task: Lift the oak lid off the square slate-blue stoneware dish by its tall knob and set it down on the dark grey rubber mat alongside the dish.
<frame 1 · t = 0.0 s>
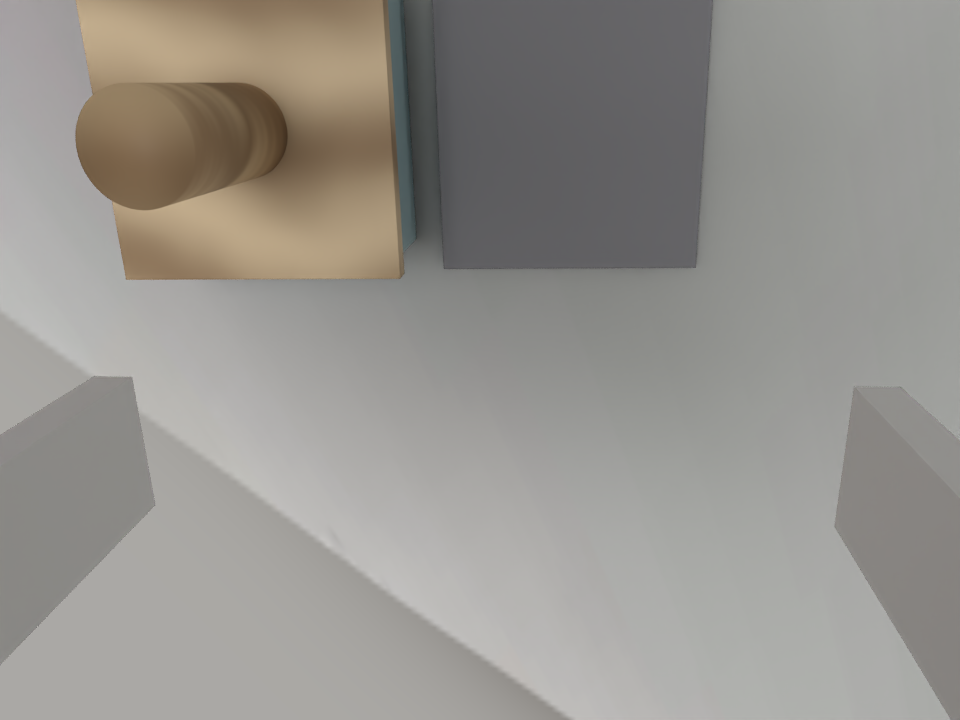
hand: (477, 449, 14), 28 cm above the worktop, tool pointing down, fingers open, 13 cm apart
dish: (294, 123, 40), on the worktop
mat: (569, 116, 39), on the worktop
lid: (251, 130, 35), point 6 cm above the worktop, touching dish
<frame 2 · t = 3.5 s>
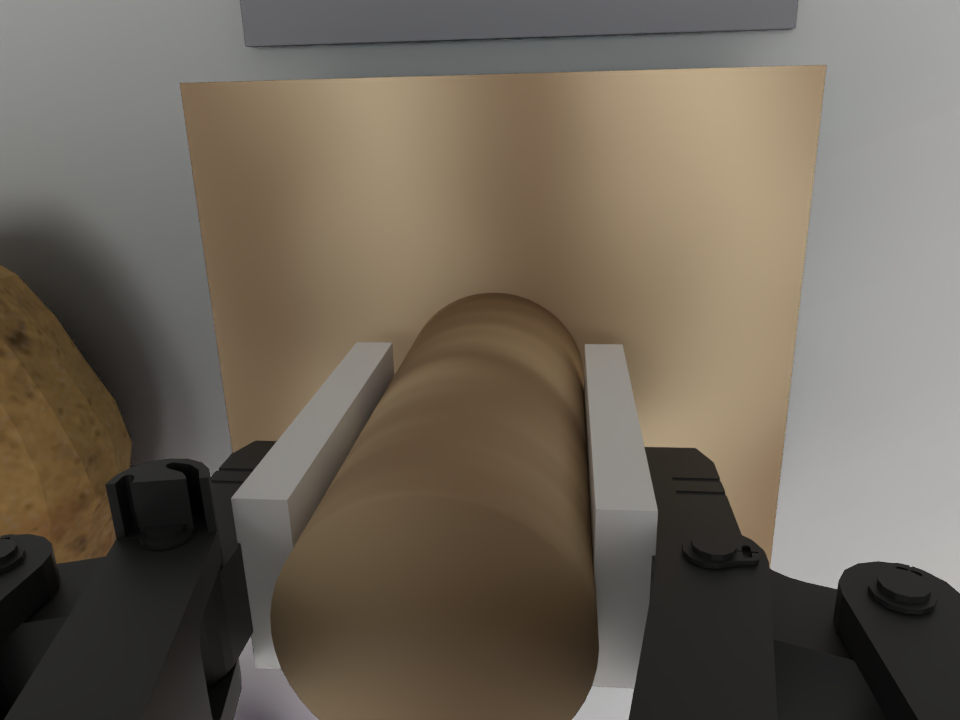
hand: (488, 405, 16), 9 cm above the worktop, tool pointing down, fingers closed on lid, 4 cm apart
potato: (49, 405, 28), on the worktop
lid: (498, 363, 19), point 6 cm above the worktop, touching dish, gripper
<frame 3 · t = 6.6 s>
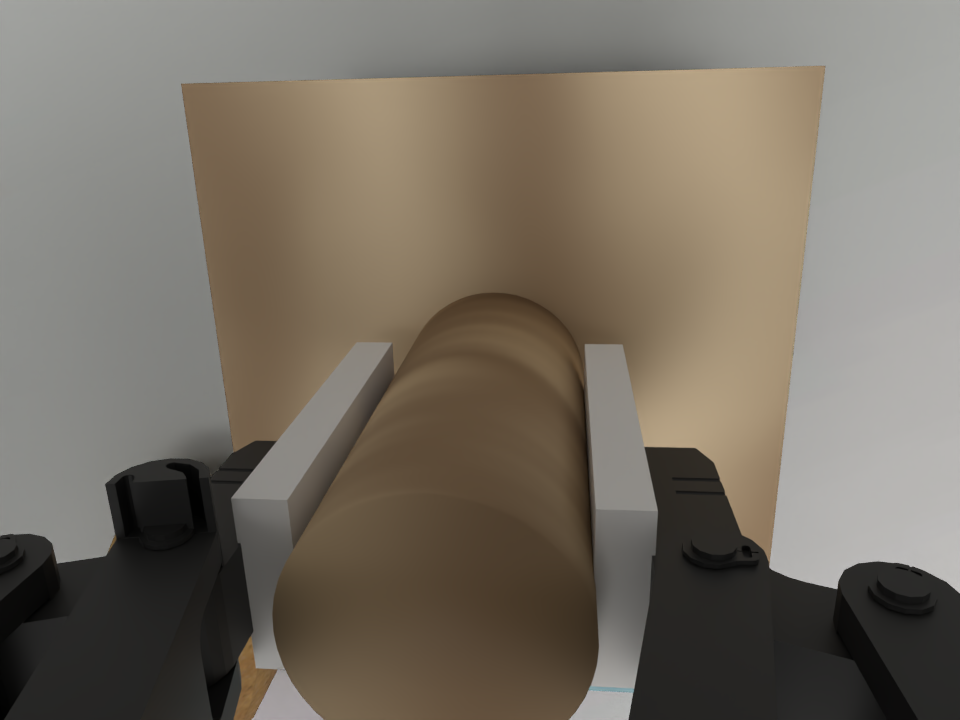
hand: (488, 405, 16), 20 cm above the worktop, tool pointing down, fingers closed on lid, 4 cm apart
potato: (228, 559, 43), on the worktop
lid: (498, 362, 19), point 18 cm above the worktop, touching gripper
when the fingers open (5 cm above the worktop, at t = 9.9 s): lid drops 1 cm, resting on mat.
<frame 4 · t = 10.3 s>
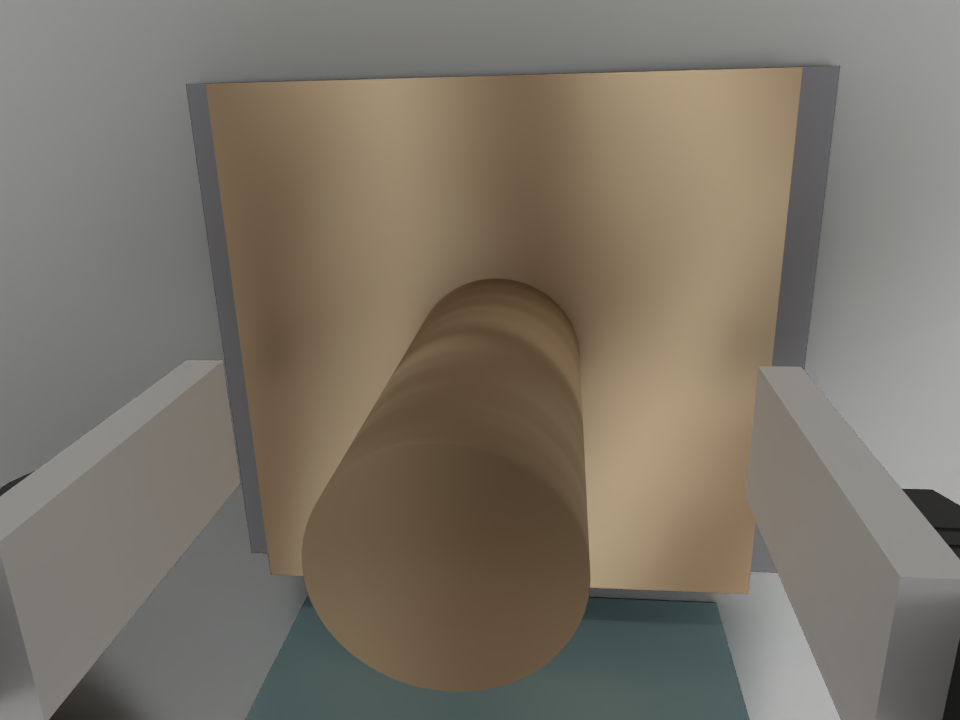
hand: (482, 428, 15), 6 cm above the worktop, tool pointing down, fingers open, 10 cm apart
mat: (504, 337, 21), on the worktop
lid: (500, 345, 20), point 1 cm above the worktop, touching mat
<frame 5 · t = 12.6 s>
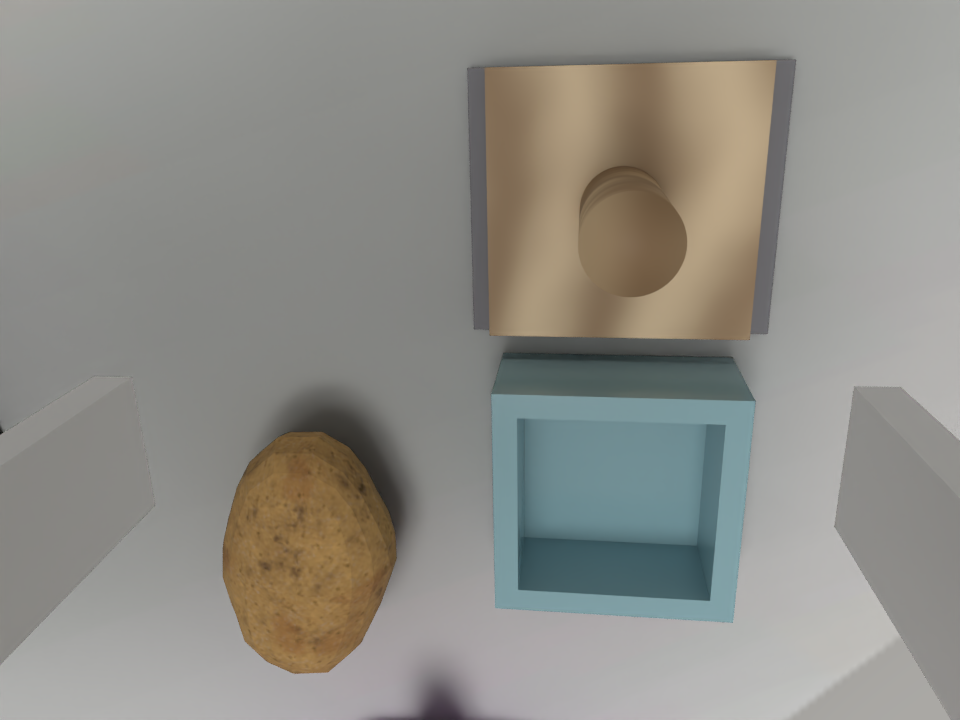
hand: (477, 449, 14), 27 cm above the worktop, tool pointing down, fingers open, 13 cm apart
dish: (612, 456, 44), on the worktop
potato: (332, 504, 47), on the worktop
mat: (621, 203, 39), on the worktop
lid: (620, 205, 39), point 1 cm above the worktop, touching mat
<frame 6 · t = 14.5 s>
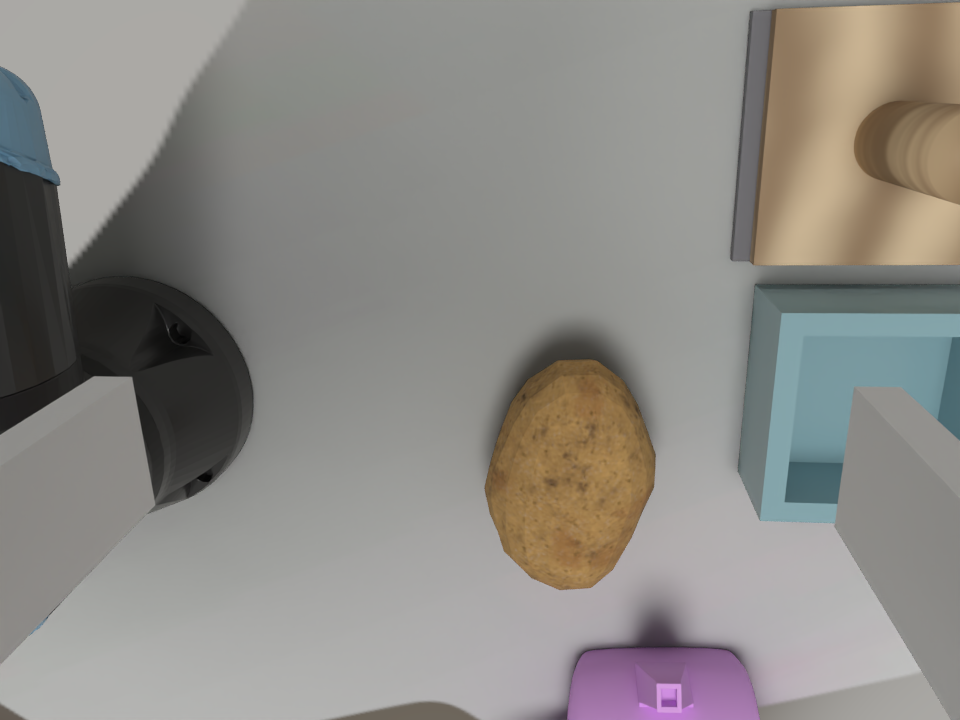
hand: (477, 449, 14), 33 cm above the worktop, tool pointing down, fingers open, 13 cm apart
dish: (850, 382, 47), on the worktop
potato: (569, 436, 50), on the worktop
mat: (884, 138, 42), on the worktop
lid: (887, 140, 42), point 1 cm above the worktop, touching mat
teakettle: (650, 715, 57), on the worktop
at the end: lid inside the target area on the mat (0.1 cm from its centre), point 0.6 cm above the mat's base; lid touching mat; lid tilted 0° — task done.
